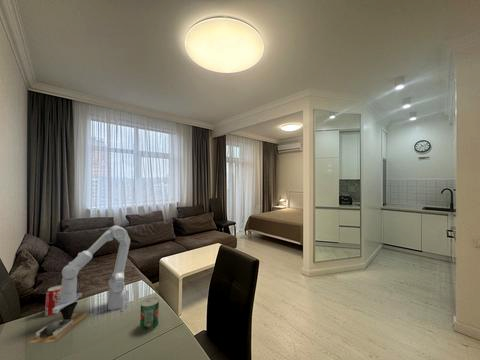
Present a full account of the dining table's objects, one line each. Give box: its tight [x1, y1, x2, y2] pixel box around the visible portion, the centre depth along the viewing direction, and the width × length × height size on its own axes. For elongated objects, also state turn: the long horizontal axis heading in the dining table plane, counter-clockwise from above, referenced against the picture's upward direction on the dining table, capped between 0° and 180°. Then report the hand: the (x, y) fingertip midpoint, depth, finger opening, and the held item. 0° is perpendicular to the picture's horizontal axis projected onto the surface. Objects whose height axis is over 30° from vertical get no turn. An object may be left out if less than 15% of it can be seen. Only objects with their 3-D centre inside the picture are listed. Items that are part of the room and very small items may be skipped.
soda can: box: [44, 284, 62, 317], centre depth 102 cm, size 7×7×13 cm
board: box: [24, 312, 92, 344], centre depth 91 cm, size 13×20×1 cm, turn 2°
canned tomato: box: [139, 296, 160, 332], centre depth 92 cm, size 8×8×11 cm
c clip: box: [35, 319, 73, 339], centre depth 87 cm, size 8×8×2 cm
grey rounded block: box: [46, 318, 60, 336], centre depth 86 cm, size 4×4×4 cm
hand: (67, 320), depth 94 cm, fingers closed
